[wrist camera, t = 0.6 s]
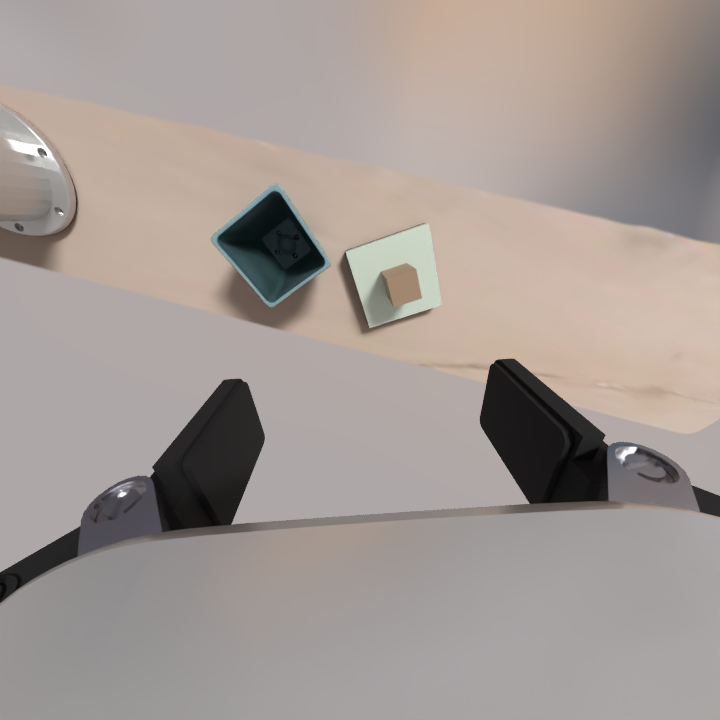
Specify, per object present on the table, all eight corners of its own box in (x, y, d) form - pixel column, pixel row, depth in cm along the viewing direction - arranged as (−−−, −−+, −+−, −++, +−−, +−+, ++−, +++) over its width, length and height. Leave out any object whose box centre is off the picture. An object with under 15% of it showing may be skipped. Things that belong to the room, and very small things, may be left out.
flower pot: (334, 254, 35) (332, 264, 27) (284, 290, 37) (269, 310, 29) (292, 190, 31) (276, 180, 23) (239, 234, 33) (207, 238, 25)
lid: (368, 325, 39) (373, 342, 34) (345, 251, 34) (346, 257, 29) (439, 302, 38) (455, 316, 33) (426, 223, 33) (443, 224, 28)
